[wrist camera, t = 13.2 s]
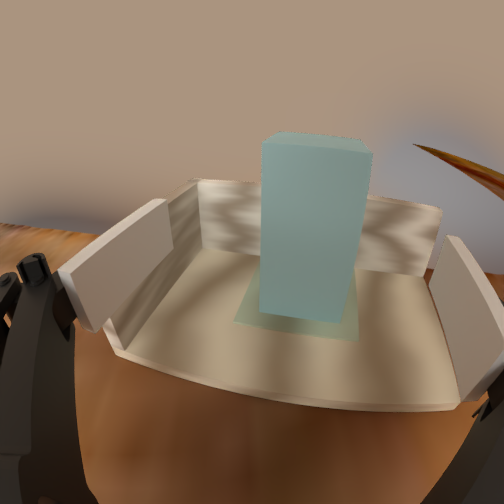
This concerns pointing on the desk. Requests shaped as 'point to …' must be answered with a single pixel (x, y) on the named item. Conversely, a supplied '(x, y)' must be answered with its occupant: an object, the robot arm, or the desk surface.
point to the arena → (283, 327)
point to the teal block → (310, 222)
